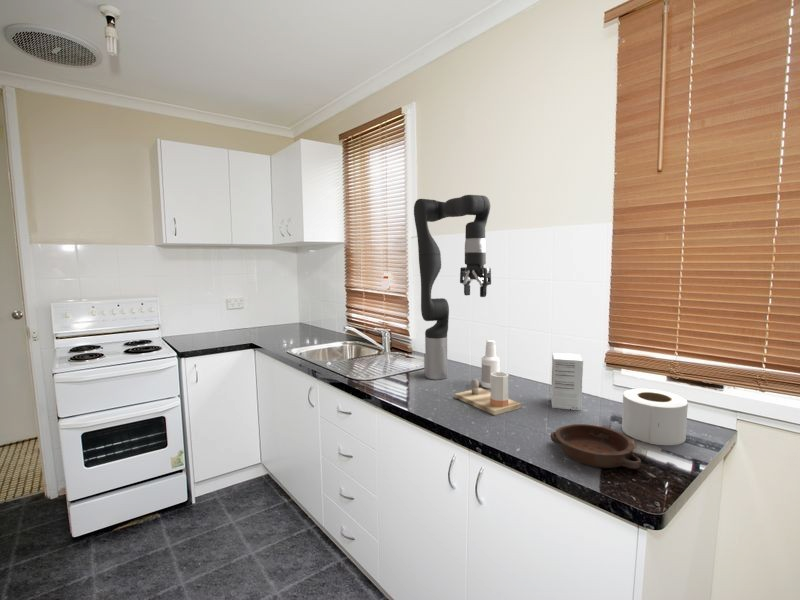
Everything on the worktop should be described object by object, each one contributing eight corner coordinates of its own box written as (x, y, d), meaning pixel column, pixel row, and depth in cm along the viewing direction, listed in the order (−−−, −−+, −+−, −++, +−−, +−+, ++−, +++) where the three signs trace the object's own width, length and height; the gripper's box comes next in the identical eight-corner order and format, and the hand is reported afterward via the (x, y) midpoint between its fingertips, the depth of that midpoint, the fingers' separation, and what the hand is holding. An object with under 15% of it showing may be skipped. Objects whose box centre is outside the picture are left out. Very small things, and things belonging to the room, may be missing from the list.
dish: (565, 432, 119) (565, 416, 119) (652, 458, 103) (653, 439, 103) (535, 453, 107) (536, 434, 106) (628, 486, 91) (629, 464, 91)
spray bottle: (484, 382, 167) (485, 338, 165) (501, 385, 163) (502, 340, 161) (478, 387, 161) (479, 341, 159) (496, 389, 157) (496, 343, 156)
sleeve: (486, 402, 139) (486, 373, 138) (499, 399, 142) (499, 370, 141) (499, 407, 134) (499, 377, 133) (512, 404, 137) (512, 375, 136)
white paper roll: (671, 451, 107) (673, 410, 106) (611, 431, 119) (613, 395, 118) (694, 435, 116) (697, 398, 115) (637, 418, 128) (638, 384, 127)
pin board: (454, 397, 149) (454, 380, 149) (480, 391, 155) (480, 374, 155) (494, 415, 132) (494, 395, 132) (521, 407, 138) (521, 389, 138)
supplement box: (550, 398, 147) (551, 352, 145) (578, 401, 144) (580, 353, 142) (551, 408, 138) (553, 358, 136) (581, 411, 135) (583, 360, 133)
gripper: (496, 251, 146) (496, 297, 147) (470, 251, 158) (469, 294, 160) (480, 251, 142) (480, 298, 144) (454, 251, 154) (454, 295, 156)
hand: (474, 296), depth 152 cm, fingers open, 8 cm apart
